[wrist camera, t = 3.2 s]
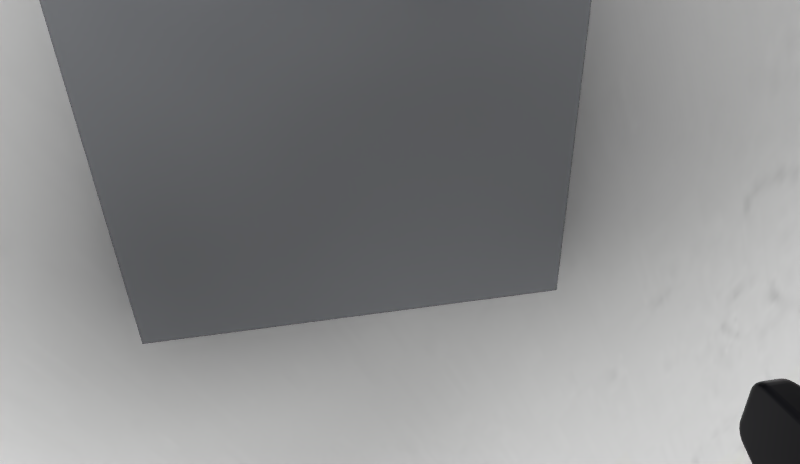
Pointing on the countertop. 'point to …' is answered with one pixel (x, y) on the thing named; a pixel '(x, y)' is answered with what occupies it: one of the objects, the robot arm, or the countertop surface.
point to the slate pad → (323, 151)
